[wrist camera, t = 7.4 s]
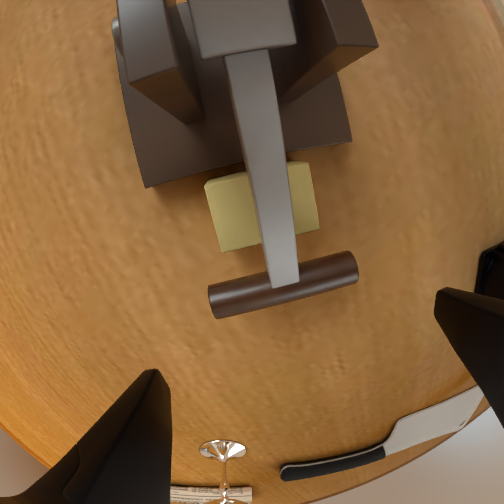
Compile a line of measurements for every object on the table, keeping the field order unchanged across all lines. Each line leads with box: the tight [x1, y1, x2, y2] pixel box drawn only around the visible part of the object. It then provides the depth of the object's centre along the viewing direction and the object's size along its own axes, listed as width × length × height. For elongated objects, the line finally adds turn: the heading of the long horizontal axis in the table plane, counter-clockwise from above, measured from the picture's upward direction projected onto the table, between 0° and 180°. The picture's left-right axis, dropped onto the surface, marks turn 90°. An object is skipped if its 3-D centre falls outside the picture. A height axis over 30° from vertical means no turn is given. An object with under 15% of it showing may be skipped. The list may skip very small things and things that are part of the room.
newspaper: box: [170, 485, 252, 504], centre depth 24 cm, size 24×7×2 cm, turn 88°
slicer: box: [112, 0, 379, 188], centre depth 7 cm, size 9×10×9 cm
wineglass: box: [199, 440, 248, 504], centre depth 16 cm, size 6×6×12 cm
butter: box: [204, 161, 320, 253], centre depth 13 cm, size 3×4×2 cm
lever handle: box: [187, 0, 359, 319], centre depth 8 cm, size 12×6×2 cm, turn 13°
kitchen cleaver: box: [280, 385, 484, 481], centre depth 24 cm, size 31×2×10 cm
